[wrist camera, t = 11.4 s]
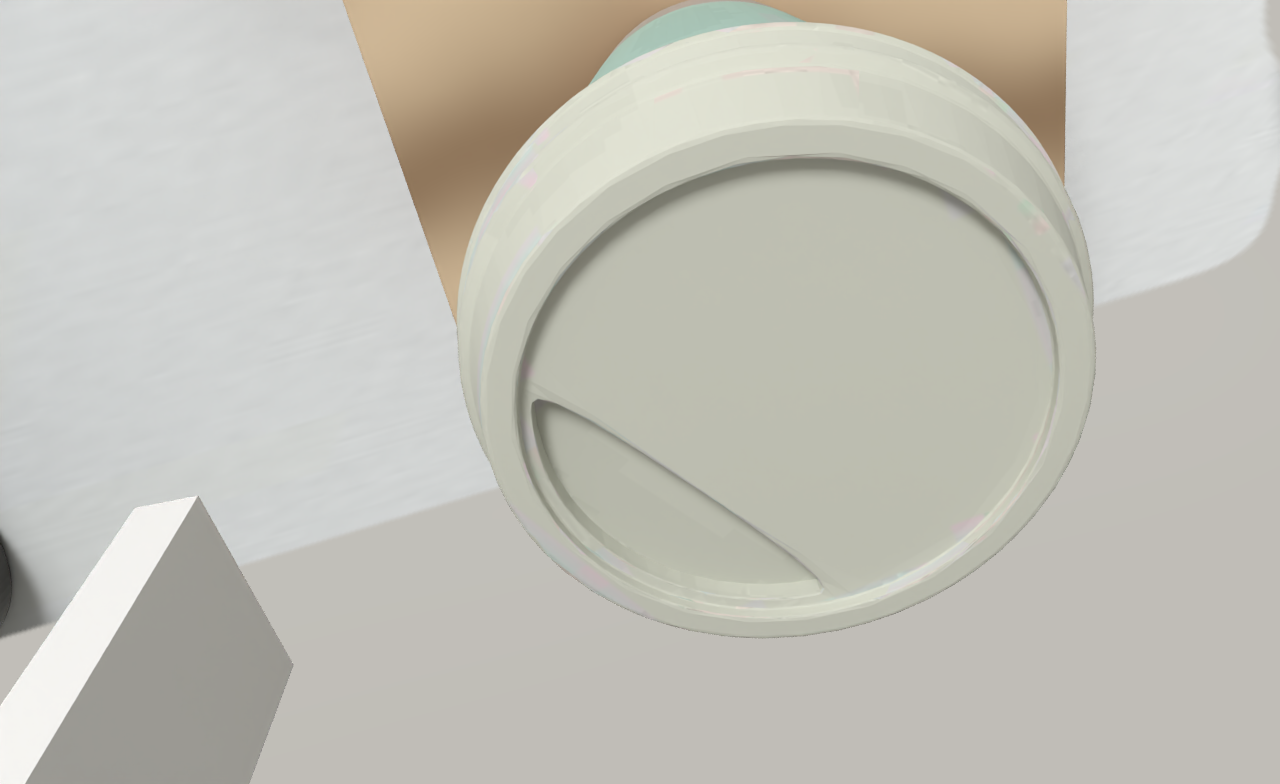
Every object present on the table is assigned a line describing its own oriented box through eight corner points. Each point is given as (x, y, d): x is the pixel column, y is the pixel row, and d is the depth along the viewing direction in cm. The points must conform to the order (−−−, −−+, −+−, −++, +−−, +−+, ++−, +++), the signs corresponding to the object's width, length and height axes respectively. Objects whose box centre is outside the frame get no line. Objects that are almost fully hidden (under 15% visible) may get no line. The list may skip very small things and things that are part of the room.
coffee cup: (464, 6, 21) (300, 211, 10) (862, -139, 19) (1121, -66, 9) (600, 342, 25) (577, 722, 15) (933, 243, 24) (1164, 586, 13)
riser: (938, 191, 35) (1062, 352, 25) (538, 272, 37) (501, 454, 27) (909, -303, 28) (1071, -361, 18) (407, -176, 29) (286, -161, 19)
